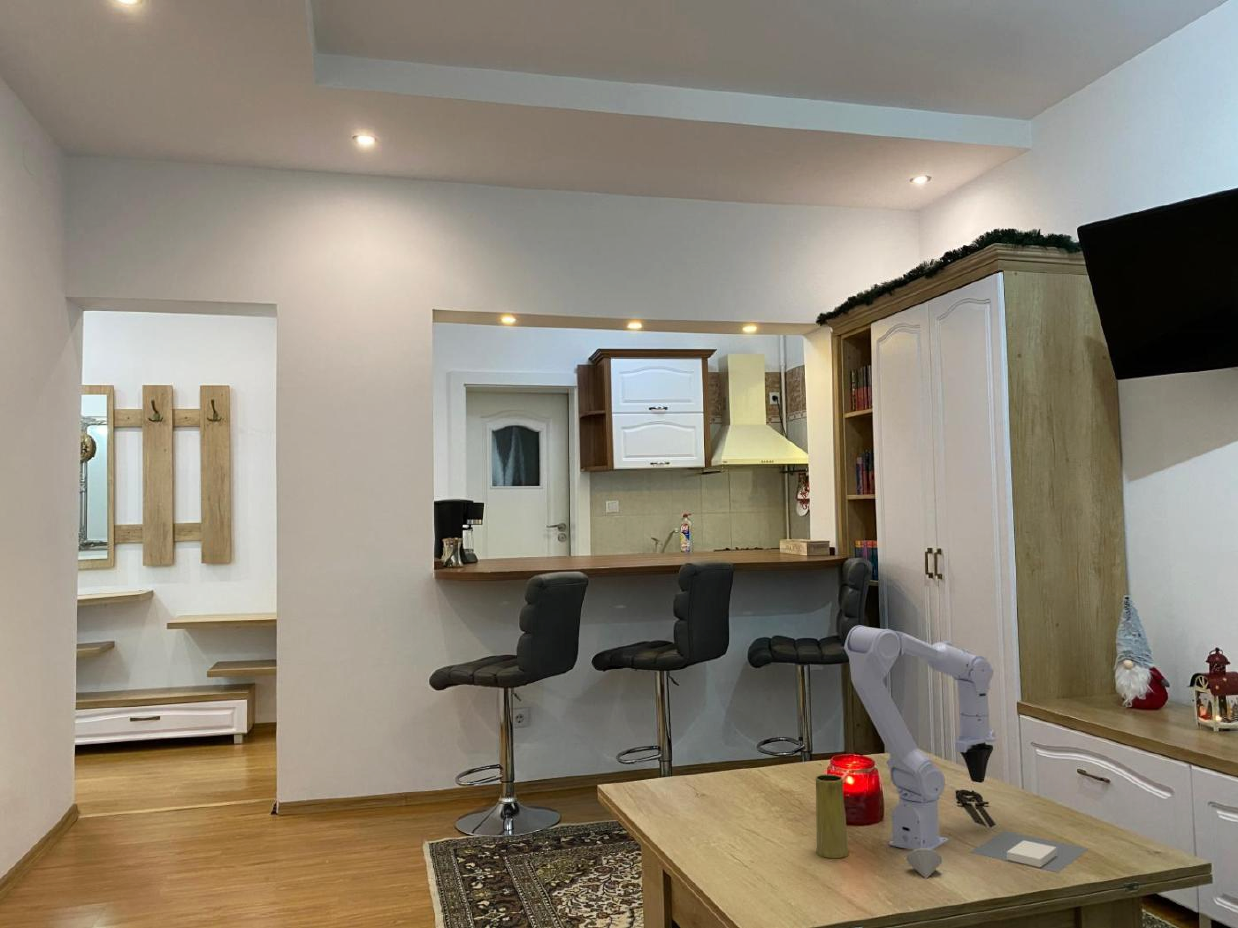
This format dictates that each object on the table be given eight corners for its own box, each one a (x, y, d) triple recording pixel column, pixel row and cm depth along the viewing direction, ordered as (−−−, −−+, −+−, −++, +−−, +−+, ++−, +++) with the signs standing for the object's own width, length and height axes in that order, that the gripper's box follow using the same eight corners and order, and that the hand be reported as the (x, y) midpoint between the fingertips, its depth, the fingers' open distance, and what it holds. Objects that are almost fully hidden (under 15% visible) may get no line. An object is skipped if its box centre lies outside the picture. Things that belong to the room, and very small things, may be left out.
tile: (1057, 856, 170) (1040, 868, 164) (1024, 848, 174) (1007, 860, 168) (1056, 847, 170) (1040, 859, 164) (1023, 840, 174) (1006, 851, 169)
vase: (825, 860, 172) (822, 783, 173) (810, 849, 178) (807, 775, 179) (854, 856, 174) (851, 779, 175) (838, 846, 180) (835, 771, 181)
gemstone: (912, 866, 161) (909, 840, 165) (905, 885, 164) (902, 859, 168) (948, 872, 160) (944, 846, 164) (940, 890, 164) (937, 864, 168)
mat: (1058, 874, 162) (1058, 872, 162) (969, 854, 173) (969, 851, 173) (1088, 850, 173) (1088, 848, 173) (1004, 832, 185) (1004, 830, 185)
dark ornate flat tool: (999, 833, 186) (999, 826, 186) (964, 831, 188) (964, 824, 188) (983, 796, 211) (983, 789, 211) (952, 794, 213) (952, 788, 213)
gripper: (978, 722, 180) (982, 792, 179) (1007, 710, 190) (1011, 776, 189) (943, 717, 185) (947, 786, 184) (974, 706, 195) (978, 771, 194)
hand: (977, 781), depth 187 cm, fingers closed
